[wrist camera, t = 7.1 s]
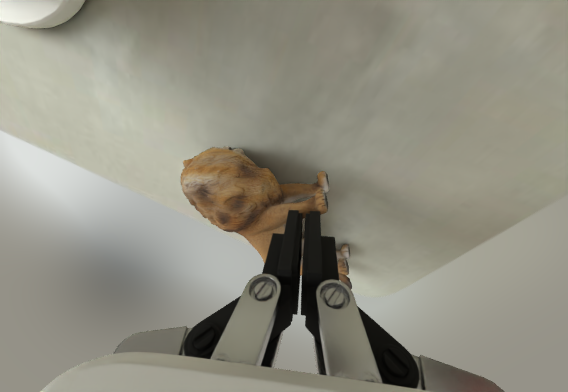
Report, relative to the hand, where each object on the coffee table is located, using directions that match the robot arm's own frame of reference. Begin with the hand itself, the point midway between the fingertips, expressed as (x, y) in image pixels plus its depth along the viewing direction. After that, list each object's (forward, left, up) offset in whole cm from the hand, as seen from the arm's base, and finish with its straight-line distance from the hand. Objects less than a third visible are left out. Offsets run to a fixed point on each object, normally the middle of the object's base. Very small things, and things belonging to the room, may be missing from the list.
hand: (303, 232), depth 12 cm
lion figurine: (+2, -1, -3) cm, 4 cm away
